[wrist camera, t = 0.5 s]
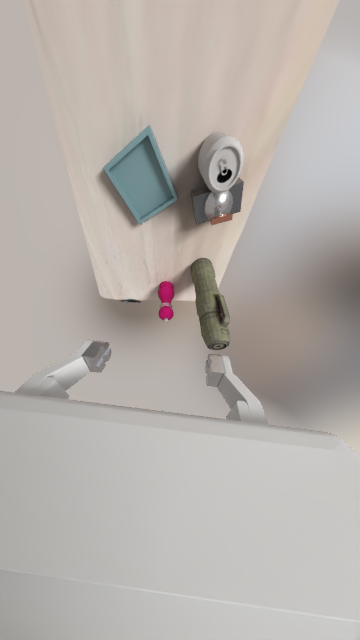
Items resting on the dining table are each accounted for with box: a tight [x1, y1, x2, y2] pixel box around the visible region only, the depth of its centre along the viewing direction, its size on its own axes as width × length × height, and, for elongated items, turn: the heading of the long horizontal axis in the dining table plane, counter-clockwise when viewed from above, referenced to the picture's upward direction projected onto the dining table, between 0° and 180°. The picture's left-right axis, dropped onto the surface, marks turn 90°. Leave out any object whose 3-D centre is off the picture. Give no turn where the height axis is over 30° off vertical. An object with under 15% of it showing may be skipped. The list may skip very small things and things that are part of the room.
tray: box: [103, 125, 178, 224], centre depth 35 cm, size 13×13×3 cm
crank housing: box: [191, 177, 244, 225], centre depth 36 cm, size 7×12×10 cm, turn 103°
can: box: [198, 132, 243, 193], centre depth 29 cm, size 8×8×12 cm
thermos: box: [191, 258, 230, 350], centre depth 47 cm, size 9×12×35 cm
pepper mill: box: [158, 281, 174, 322], centre depth 59 cm, size 7×7×20 cm
